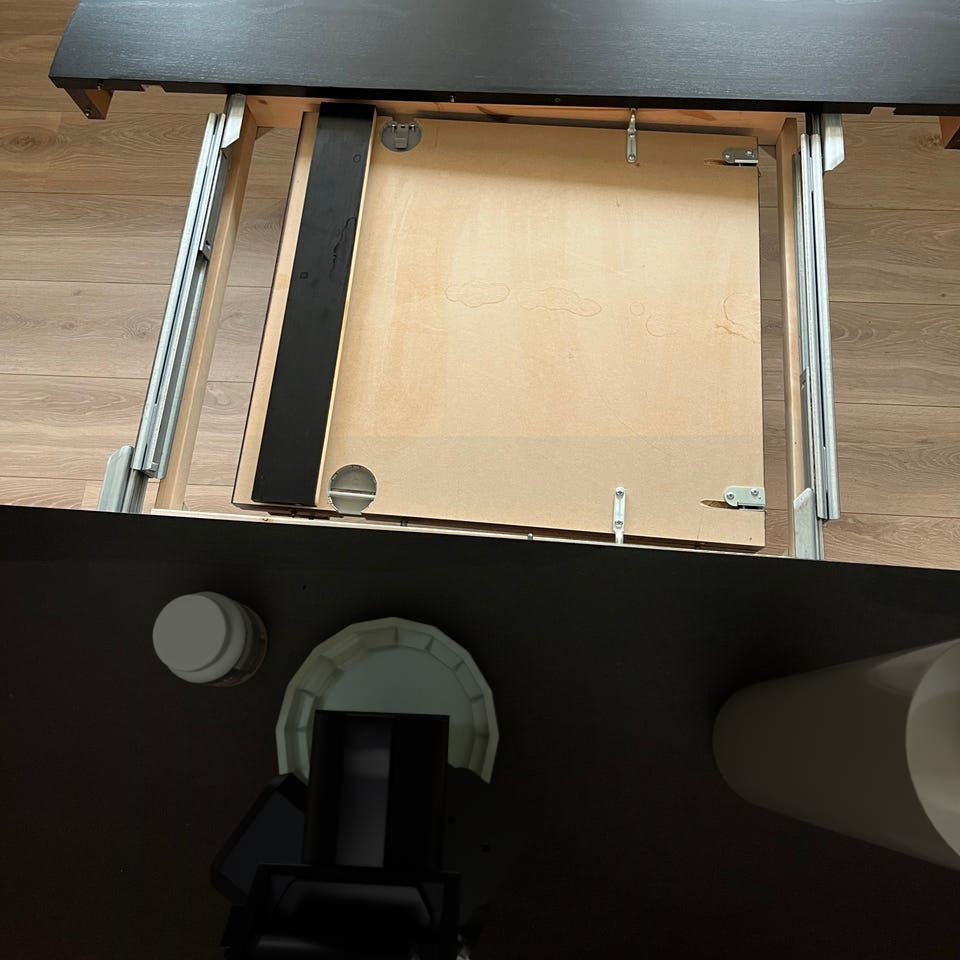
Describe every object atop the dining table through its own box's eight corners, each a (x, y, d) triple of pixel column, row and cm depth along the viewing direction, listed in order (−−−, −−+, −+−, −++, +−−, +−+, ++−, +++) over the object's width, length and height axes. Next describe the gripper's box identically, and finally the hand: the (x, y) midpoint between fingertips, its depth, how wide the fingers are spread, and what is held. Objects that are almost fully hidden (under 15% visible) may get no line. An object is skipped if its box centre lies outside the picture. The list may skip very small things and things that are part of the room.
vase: (825, 823, 69) (1295, 968, 27) (703, 793, 70) (968, 886, 28) (838, 697, 72) (1284, 644, 29) (721, 670, 73) (986, 580, 30)
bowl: (472, 872, 69) (468, 882, 65) (267, 817, 71) (248, 823, 66) (518, 651, 74) (517, 646, 70) (325, 605, 76) (311, 597, 71)
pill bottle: (183, 682, 75) (133, 675, 65) (199, 599, 77) (153, 581, 67) (262, 691, 74) (223, 685, 65) (276, 607, 76) (241, 590, 67)
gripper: (671, 949, 44) (637, 899, 58) (321, 671, 48) (370, 689, 63) (515, 1220, 40) (520, 1096, 55) (157, 894, 45) (248, 859, 60)
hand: (413, 920), depth 58 cm, fingers open, 9 cm apart
